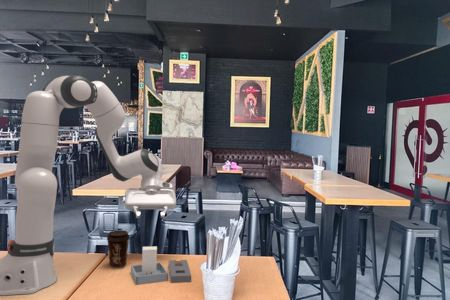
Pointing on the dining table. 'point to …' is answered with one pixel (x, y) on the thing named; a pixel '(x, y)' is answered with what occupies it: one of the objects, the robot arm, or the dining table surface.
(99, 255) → the dining table surface
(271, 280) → the dining table surface
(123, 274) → the dining table surface
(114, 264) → the coffee cup
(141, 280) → the tray
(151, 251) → the charger
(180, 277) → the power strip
